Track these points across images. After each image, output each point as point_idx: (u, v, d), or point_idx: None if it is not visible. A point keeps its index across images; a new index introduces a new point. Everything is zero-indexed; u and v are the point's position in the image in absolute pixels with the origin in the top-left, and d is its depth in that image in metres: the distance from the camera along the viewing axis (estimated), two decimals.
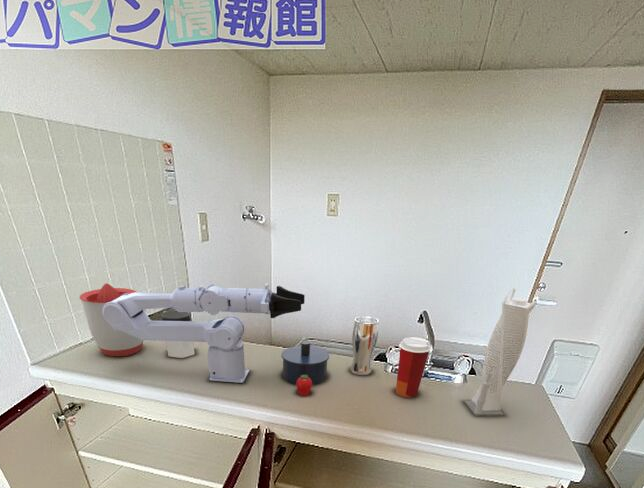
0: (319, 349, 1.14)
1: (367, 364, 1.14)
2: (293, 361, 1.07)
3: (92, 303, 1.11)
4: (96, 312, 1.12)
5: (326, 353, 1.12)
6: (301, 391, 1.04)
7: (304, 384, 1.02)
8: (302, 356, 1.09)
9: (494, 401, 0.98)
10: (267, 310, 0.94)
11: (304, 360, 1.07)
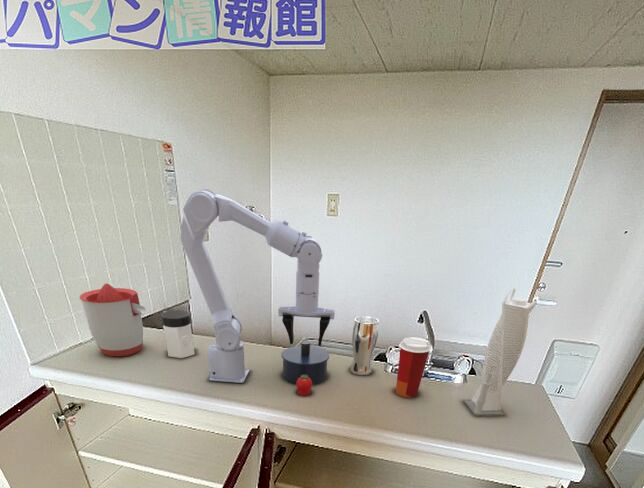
0: (319, 349, 1.14)
1: (367, 364, 1.14)
2: (293, 361, 1.07)
3: (92, 303, 1.11)
4: (96, 312, 1.12)
5: (326, 353, 1.12)
6: (301, 391, 1.04)
7: (304, 384, 1.02)
8: (302, 356, 1.09)
9: (494, 401, 0.98)
10: None
11: (304, 360, 1.07)
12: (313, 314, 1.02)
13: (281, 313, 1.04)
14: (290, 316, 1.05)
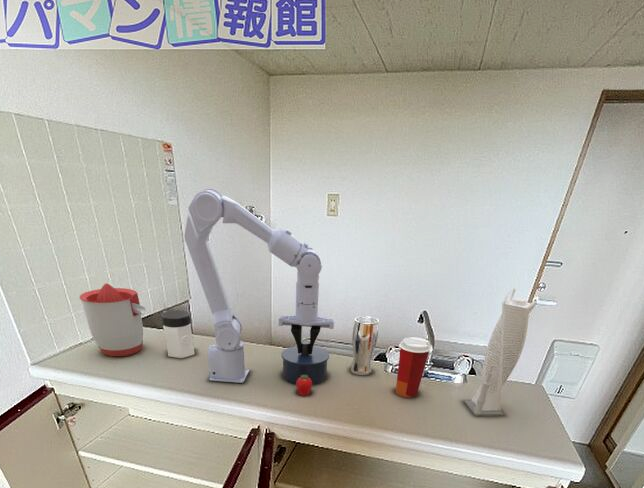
0: (319, 349, 1.14)
1: (367, 364, 1.14)
2: (293, 361, 1.07)
3: (92, 303, 1.11)
4: (96, 312, 1.12)
5: (326, 353, 1.12)
6: (301, 391, 1.04)
7: (304, 384, 1.02)
8: (302, 356, 1.09)
9: (494, 401, 0.98)
10: None
11: (304, 360, 1.07)
12: (313, 324, 1.03)
13: (281, 323, 1.06)
14: (299, 326, 1.06)
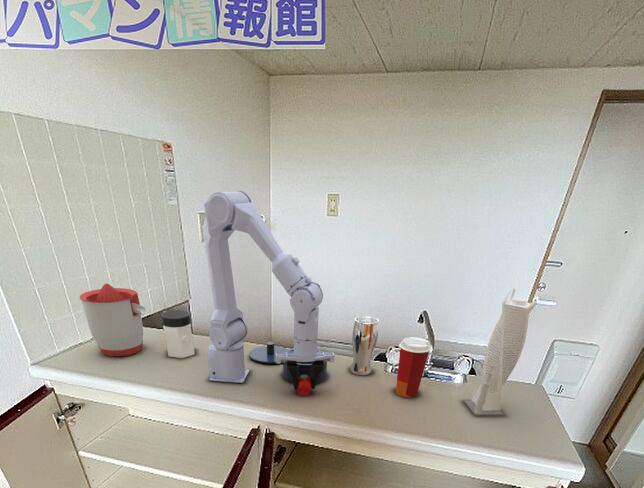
0: (284, 349, 1.28)
1: (367, 364, 1.14)
2: (258, 359, 1.20)
3: (92, 303, 1.11)
4: (96, 312, 1.12)
5: None
6: (300, 391, 1.04)
7: (304, 384, 1.02)
8: (267, 355, 1.23)
9: (494, 401, 0.98)
10: None
11: (269, 358, 1.21)
12: (314, 359, 0.98)
13: (279, 360, 0.99)
14: (295, 362, 1.00)
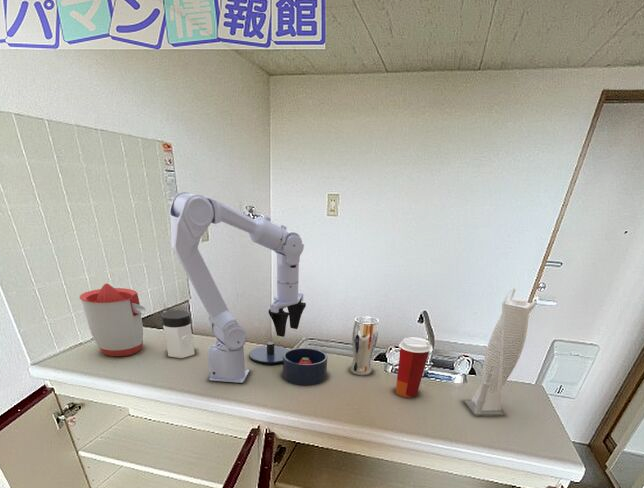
0: (284, 349, 1.28)
1: (367, 364, 1.14)
2: (258, 359, 1.20)
3: (92, 303, 1.11)
4: (96, 312, 1.12)
5: None
6: None
7: None
8: (267, 355, 1.23)
9: (494, 401, 0.98)
10: None
11: (269, 358, 1.21)
12: (299, 300, 1.10)
13: (278, 309, 1.05)
14: (282, 309, 1.07)
